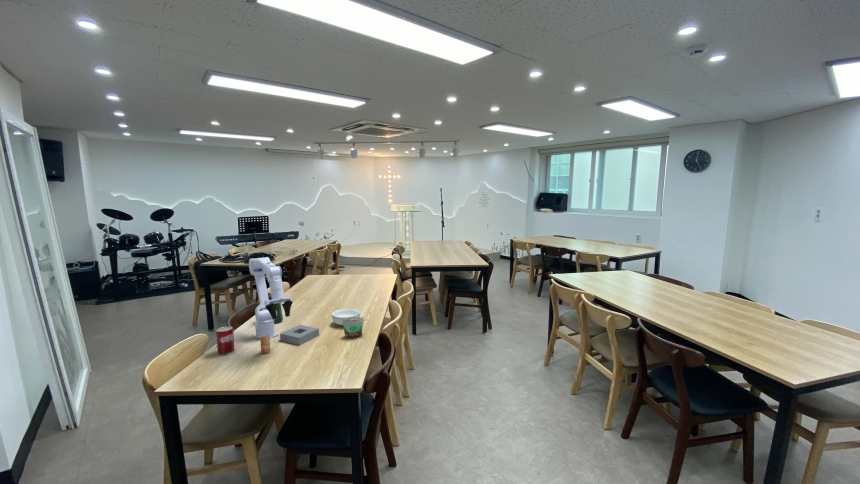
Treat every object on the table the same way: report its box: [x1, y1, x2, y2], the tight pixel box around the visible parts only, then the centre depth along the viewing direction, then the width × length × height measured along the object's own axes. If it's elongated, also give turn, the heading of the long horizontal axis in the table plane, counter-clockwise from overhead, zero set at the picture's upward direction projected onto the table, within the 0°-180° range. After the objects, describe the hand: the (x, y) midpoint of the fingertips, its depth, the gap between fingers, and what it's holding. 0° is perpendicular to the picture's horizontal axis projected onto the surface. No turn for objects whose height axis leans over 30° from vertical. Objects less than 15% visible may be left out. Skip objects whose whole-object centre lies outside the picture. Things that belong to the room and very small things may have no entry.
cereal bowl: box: [331, 308, 361, 327], centre depth 200 cm, size 17×17×7 cm
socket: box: [279, 324, 320, 346], centre depth 178 cm, size 14×14×4 cm
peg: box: [259, 335, 271, 355], centre depth 161 cm, size 4×4×8 cm
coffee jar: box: [267, 292, 284, 324], centre depth 202 cm, size 10×8×19 cm
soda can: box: [215, 326, 236, 356], centre depth 161 cm, size 7×7×12 cm
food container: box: [342, 316, 365, 339], centre depth 180 cm, size 12×6×10 cm, turn 117°
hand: (281, 317), depth 159 cm, fingers open, 7 cm apart
